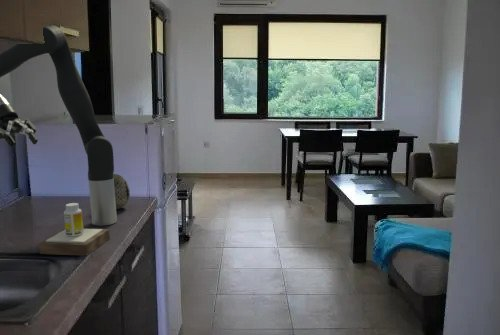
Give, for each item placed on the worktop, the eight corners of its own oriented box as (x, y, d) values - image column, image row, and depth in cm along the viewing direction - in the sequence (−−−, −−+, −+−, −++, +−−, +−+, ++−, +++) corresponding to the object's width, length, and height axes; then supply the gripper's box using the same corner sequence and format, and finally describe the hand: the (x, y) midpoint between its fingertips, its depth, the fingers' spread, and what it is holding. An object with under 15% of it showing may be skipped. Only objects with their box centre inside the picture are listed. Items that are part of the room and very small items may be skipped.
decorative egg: (96, 211, 204) (94, 176, 201) (112, 204, 215) (109, 171, 212) (121, 213, 201) (119, 177, 198) (135, 206, 212) (133, 172, 209)
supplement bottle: (85, 231, 163) (82, 201, 162) (81, 236, 158) (78, 206, 156) (68, 232, 163) (65, 202, 161) (63, 237, 157) (60, 206, 156)
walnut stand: (66, 237, 170) (65, 226, 169) (109, 239, 167) (108, 227, 167) (40, 253, 154) (38, 241, 154) (87, 255, 152) (86, 243, 151)
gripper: (-15, 104, 165) (10, 139, 161) (22, 102, 177) (47, 134, 173) (-22, 119, 168) (2, 154, 165) (15, 116, 180) (38, 148, 177)
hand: (25, 144), depth 169 cm, fingers open, 8 cm apart
